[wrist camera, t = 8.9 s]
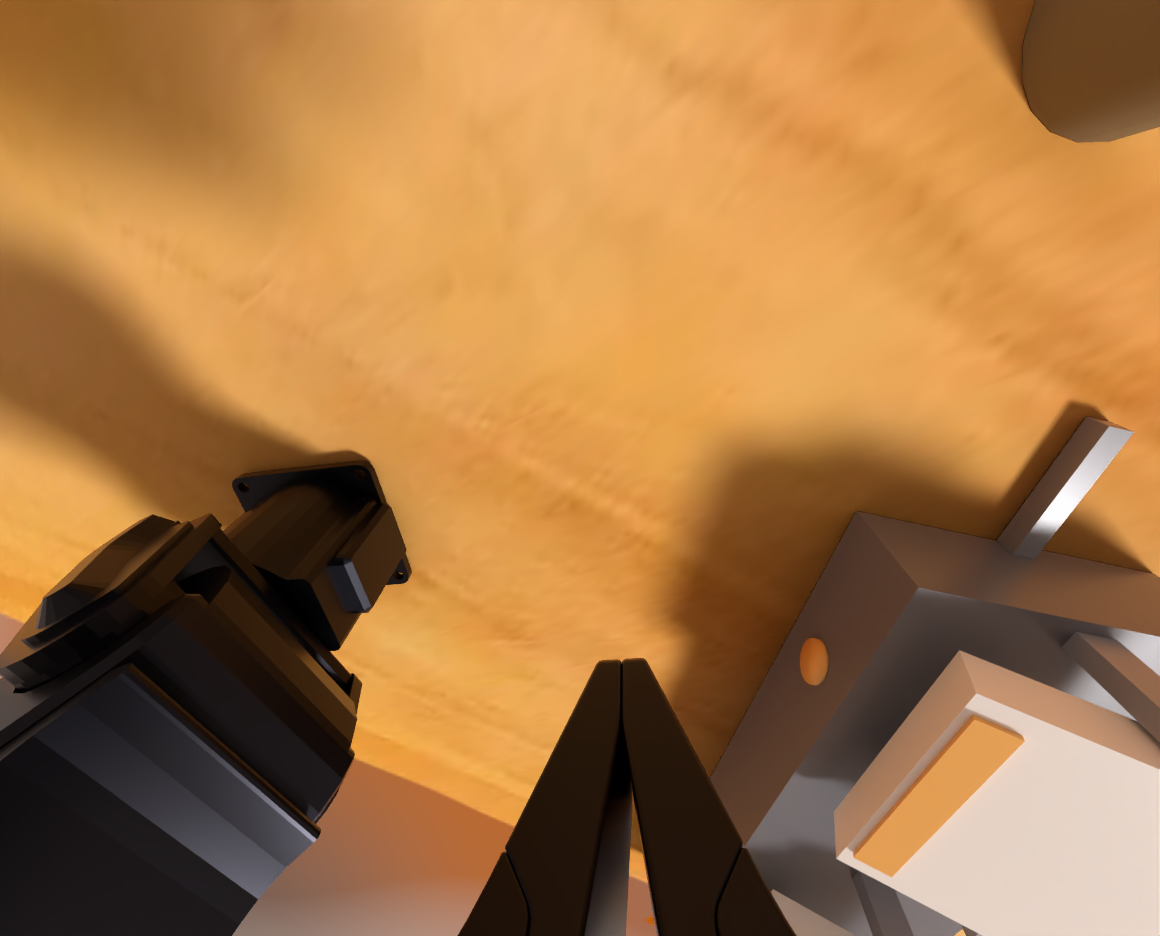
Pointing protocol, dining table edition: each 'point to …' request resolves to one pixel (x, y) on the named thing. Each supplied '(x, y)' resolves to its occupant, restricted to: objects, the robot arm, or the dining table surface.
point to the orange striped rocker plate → (1012, 809)
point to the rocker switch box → (926, 672)
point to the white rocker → (806, 919)
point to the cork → (1093, 67)
